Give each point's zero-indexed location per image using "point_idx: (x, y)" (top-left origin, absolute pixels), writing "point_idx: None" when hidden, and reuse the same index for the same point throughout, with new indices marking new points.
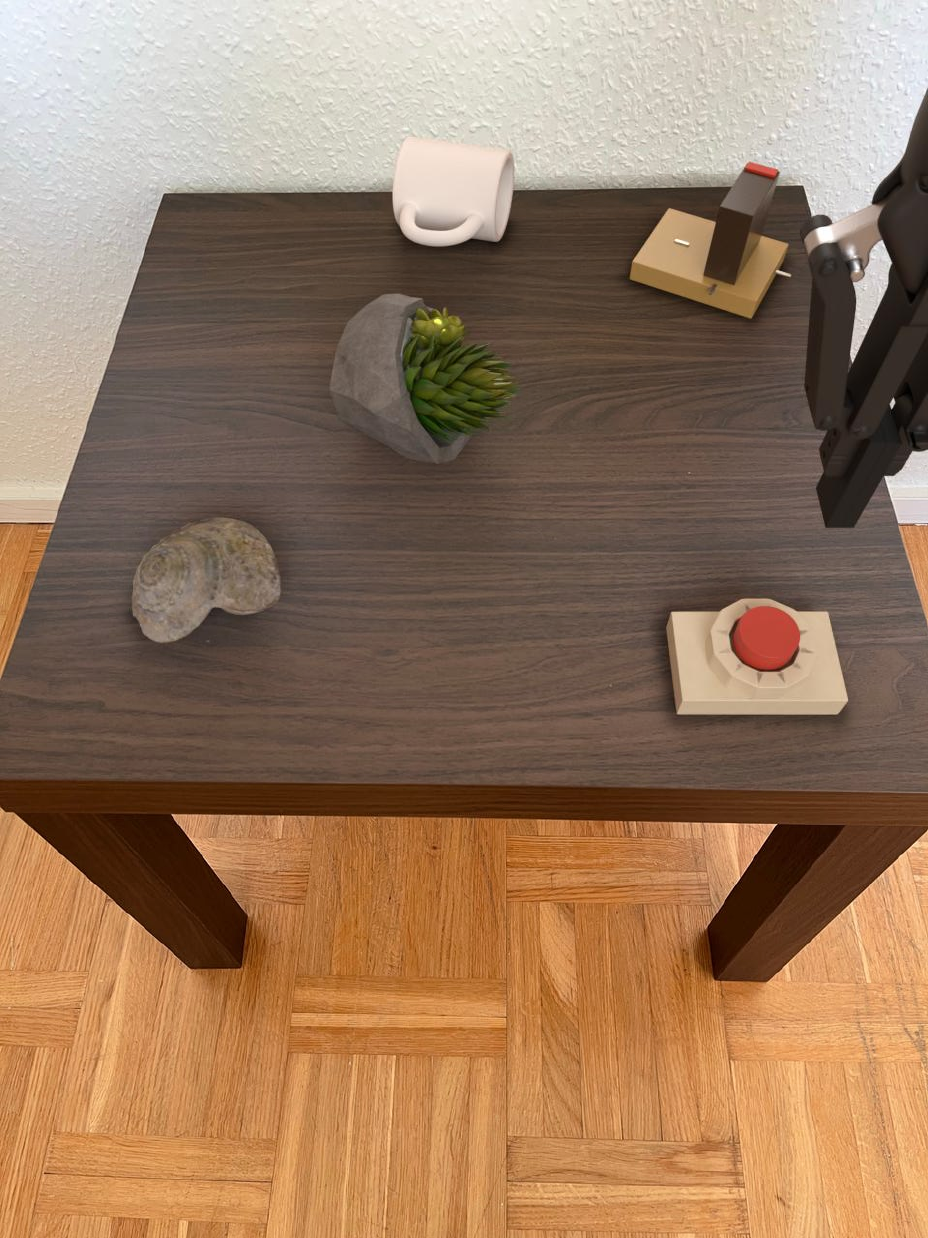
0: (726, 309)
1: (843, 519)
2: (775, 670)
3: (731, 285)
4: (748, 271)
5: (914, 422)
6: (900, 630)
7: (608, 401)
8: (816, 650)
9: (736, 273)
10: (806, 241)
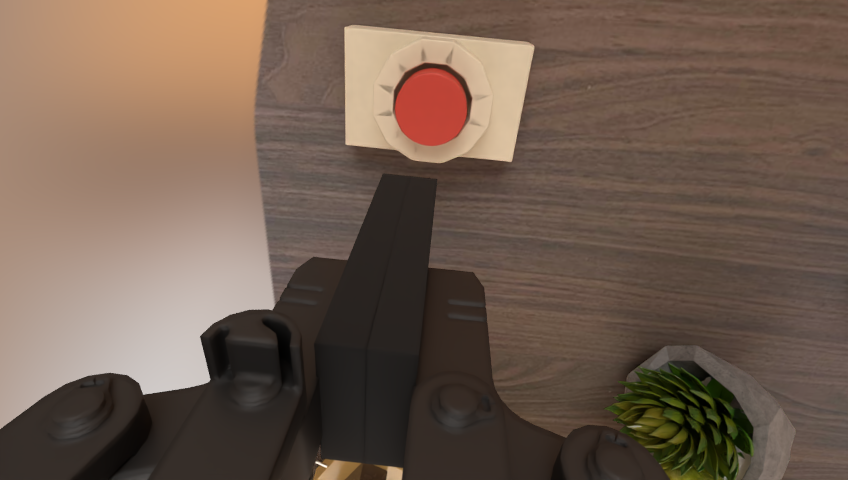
0: None
1: (408, 187)
2: None
3: None
4: (349, 468)
5: (274, 423)
6: (270, 123)
7: None
8: (374, 87)
9: (362, 471)
10: None
